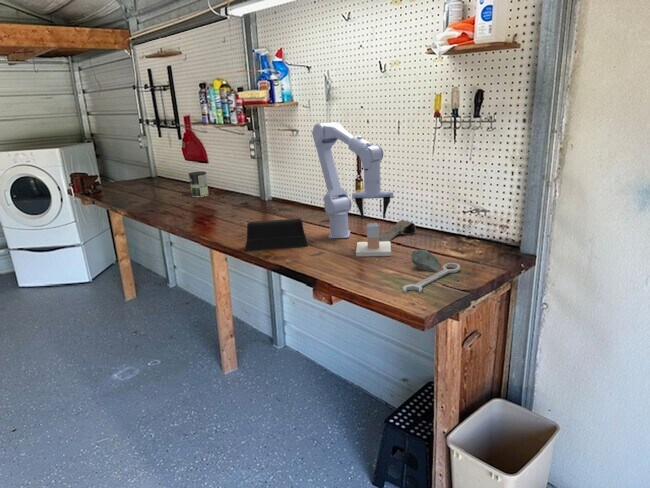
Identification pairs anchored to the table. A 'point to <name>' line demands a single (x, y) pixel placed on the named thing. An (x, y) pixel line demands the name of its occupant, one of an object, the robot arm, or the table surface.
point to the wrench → (432, 278)
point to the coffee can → (198, 184)
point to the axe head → (398, 230)
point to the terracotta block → (373, 243)
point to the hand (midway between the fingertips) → (373, 218)
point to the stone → (425, 260)
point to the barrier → (275, 235)
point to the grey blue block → (373, 230)
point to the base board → (364, 251)
